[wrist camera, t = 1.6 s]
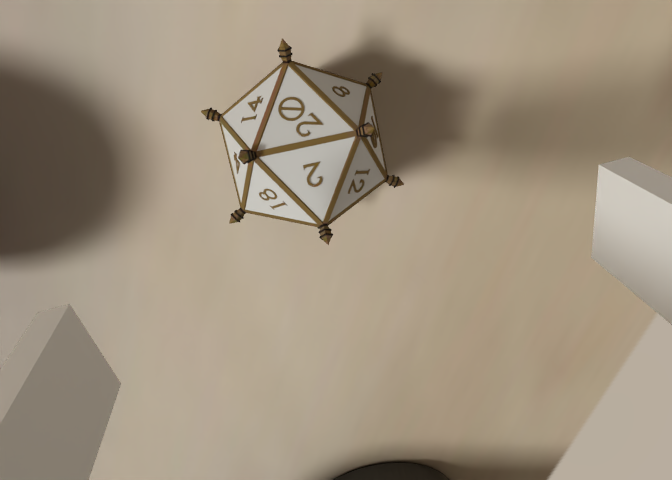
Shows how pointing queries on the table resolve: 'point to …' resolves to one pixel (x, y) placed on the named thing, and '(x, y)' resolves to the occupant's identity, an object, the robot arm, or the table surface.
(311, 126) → the game die
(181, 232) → the table surface
